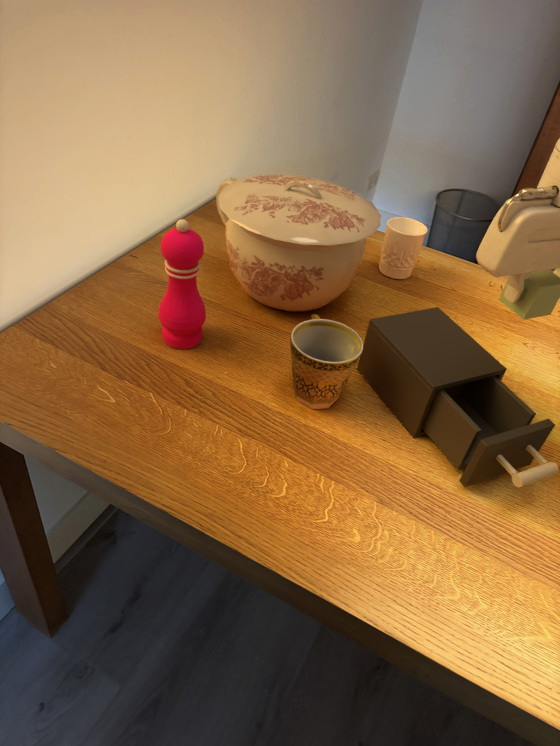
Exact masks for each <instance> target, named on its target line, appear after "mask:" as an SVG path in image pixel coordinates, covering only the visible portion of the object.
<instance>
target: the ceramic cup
mask: <svg viewBox="0 0 560 746" xmlns="http://www.w3.org/2000/svg"><path fill="white" fill-rule="evenodd" d="M289 335H290V337H289V338H290V340H289V345H290V346H289V347H290V358H291V368H292V369H291V372H292V373H291V375H292V390H293V392H294V397H295V399H296V401H297V402H299V403H301V404H302V405H304V406H306V407H308V408H309V409H312V410H319V409H321V410H322V409H323V410H324V409H325V410H326V409H330V407H331V406H332V405H333V404H334V403H335V402H337V400H338V399H339V398H340V396H341V394H342V392H343V390H344V388H345V386H346V384H347V383H348V380H349V378H350V376H351V374H352V372H353V371H354V370H355V368H356V366H357V365H358V362H359V359H360V356H361V353H362V351H363V344H364V341H363V340H362V338H361V336H360V335H359V334H358V332H356V331H355V330H354V329H353V328H351V327H349V326H348V325H346V324H345V323H342V322H339V321H336V320H331V319H325V318H321V317H320V316H319V315H318V314H315V313H314V314H311V316H310V319H308V320H304V321H301V322H299V323H297V324H296V325H295V326H294V327H293V328H292V330H291V332H290V334H289Z"/></svg>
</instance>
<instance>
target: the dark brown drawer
mask: <svg viewBox="0 0 560 746" xmlns="http://www.w3.org/2000/svg"><path fill="white" fill-rule="evenodd" d="M536 415H537V413H536V412H535V411H534V410H533V409H532V408H531V407H530V406H529V405H528V404H527V403H526V402H525V401H523V400H522V399H521V398H520V397H519V396H518V395H517V394H516V393H515V392H514V391H513V390H511V388H510V387H508V385H506V384H505V383H504V382H503V381H502V379H501V380H500V379H499V378H497V377H496V376H491V377H487V378H484V379H480V380H476V381H472V382H468V383H464V384H460V385H456V386H452V387H448V388H444V389H440V390H437V391H436V393H435V396H434V398H433V401H432V403H431V406H430V408H429V411H428V413H427V416H426V418H425V420H424V423H423V425H422V429H423V430H424V431H425V433H426V435H427V436H428V437H429V439H430V440H431V441H432V442H433V444H434V445H435V446H436V447H437V448H438V449H439V450H440V452H441V453H442V454H443V456H445V457H446V458H447V460H448V461H449V462H450V463H451V465H452V466H453V467H454V468H455V469H456V470H457V471H459V470H463V469H464V471H463V473H462V475H461V476H460V478H459V482H460V484H461V485H462V486H463V487H464V488H468V487H471V486H473V485H477V484H480V483H483V482H486V481H488V480H492V479H494V478H497V477H500V476H503V475H505V474H509V475H510V476H511V482H512V484H513V485H514V487H516V488H522V487H525V486H527V485H531V484H533V483H535V482H539V481H541V480H544V479H547V478H549V477H553V476H556V475H558V473H559V466H558V464H557V463H556V462H554V461H548V460H546V459H545V457H543V456H542V455H541V454H540V450H541V449H542V447H543V446H544V444H545V443H546V441H547V439H548V438H549V436H550V435H551V433H552V431H553V430H554V428H555V426H556V423H554V421H552V420H551V419H550V418H546V419H542V420H539V421H536V422H533V420H534V418H535V417H536ZM534 459H535V460H536V461H537V462H538V464H539V465H537V466H533V467H531V468H528V469H525V470H522V471H519V472H518V470H519V469H522V468H526V467H528V466H530V465H532V463H533V461H534Z"/></svg>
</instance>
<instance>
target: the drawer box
mask: <svg viewBox="0 0 560 746" xmlns="http://www.w3.org/2000/svg"><path fill="white" fill-rule="evenodd" d="M356 366H357V367H356V370H357V371H358V372H359V374H360V375H361V376H362V377H363V378H364V380H365V381H366V382H367V384H368V385H369V386H370V387H371V388H372V389H373V390H374V391H375V393H376V394H377V396H378V397H379V398H380V400H382V401H383V403H384V404H385V405H386V406H387V408H388V409H389V411H390V412H391V413H392V414H393V415H394V416H395V417H396V419H397V420H398V421H399V423H400V424H401V425H402V426H403V428H405V430H406V431H407V432H408V433H409V435H410V436H411V437H412V438H413V439H415V438H419V437H422V436H425V435H427V434H426V433H425V431H424V430H423V429H422V425H423V423H424V420H425V418H426V416H427V413H428V411H429V408H430V406H431V403H432V401H433V398H434V396H435V393H436V391H437V390H440V389H444V388H448V387H452V386H456V385H460V384H464V383H468V382H472V381H476V380H480V379H484V378H487V377H491V376H496V377H497V378H499V379H500V380H501V381H502V379H503V378H504V376H505V374H506V372H507V370H508V368H507V367H506V366H504V365H503V364H502V363H501V362H500V361H499V360H498V359H497V358H495V356H494V355H492V354H491V353H490V352H489V351H488V350H487V349H485V347H483V346H482V345H481V344H480V343H478V341H477V340H475V339H474V337H472V336H471V335H470V334H469V333H468V332H467V331H466V330H464V329H463V328H462V327H461V326H460V325H459V324H458V323H457V322H455V320H453V319H452V318H451V317H450V316H448V315H447V313H445V311H443V310H442V309H441V308H440V307H439V306H436V307H431V308H430V307H429V308H424V309H419V310H414V311H408V312H407V311H406V312H403V313H396V314H390V315H384V316H380V317H374V318H369V322H368V326H367V330H366V334H365V337H364V341H363V351H362V353H361V356H360V358H359V360H358V362H357V365H356Z"/></svg>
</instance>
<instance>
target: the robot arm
mask: <svg viewBox="0 0 560 746" xmlns="http://www.w3.org/2000/svg"><path fill="white" fill-rule="evenodd" d="M547 161H548V162H547V164H546V166H545V168H544V171H543V173H542V175H541V178H540V180H539V182H538V183H537V186H536V188H533V187H526V188H521V189H519V191H518V193H516V194H514V195H513V196H512V197H511V198H508V199H507V200H506V201H504V203H503V205H502V206H501V207H500V208H499V210H498V211H497V212H496V214H495V216H494V217H493V219H492V221H491V223H490V225H488V228H487V230H486V231H485V234H484V236H483V238H482V240H481V242H480V244H479V247H478V249H477V251H476V255H475V258H476V262H477V264H478V265H479V266H480V267H481V268H482V269H483V270H485V272H487V273H489V275H491V276H493V277H495V278H503V277H506V278H507V280H508V286H507V288H506V291H505V293H504V297H505V298H506V299H507V300H508V301H510V302H511V303H513V302H519V301H522V300H523V299H524V296H525V295H526V293H527V291H528V290H527V289H526V288H525V287H524V279H528V278H529V276H530V274H531V272H538V271H545V270H549V271H551V270H553V271H552V273H553V274H555V275H556V276H558V277H559V278H560V137H559V138H558V140H557V141H556V143H555V145H554V147H553V151H552V152H551V154H550V157H549V159H548V160H547Z"/></svg>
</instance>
